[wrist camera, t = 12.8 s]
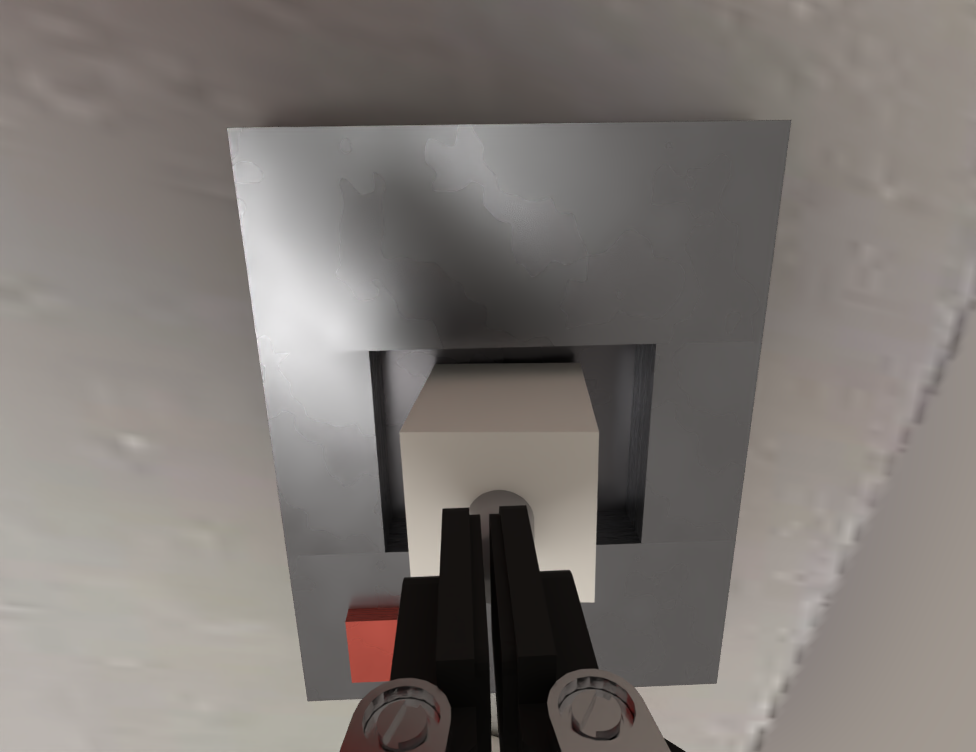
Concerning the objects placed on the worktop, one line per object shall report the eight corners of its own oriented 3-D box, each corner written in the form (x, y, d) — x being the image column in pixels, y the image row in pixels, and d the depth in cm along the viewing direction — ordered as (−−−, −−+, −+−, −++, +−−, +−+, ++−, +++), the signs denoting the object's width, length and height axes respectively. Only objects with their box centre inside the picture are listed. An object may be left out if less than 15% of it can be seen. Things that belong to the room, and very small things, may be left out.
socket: (257, 132, 17) (218, 126, 14) (749, 126, 18) (803, 118, 15) (322, 648, 23) (303, 716, 20) (692, 633, 23) (723, 697, 21)
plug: (434, 363, 19) (378, 472, 12) (580, 362, 19) (610, 472, 12) (442, 493, 21) (395, 658, 13) (578, 493, 20) (603, 663, 13)
